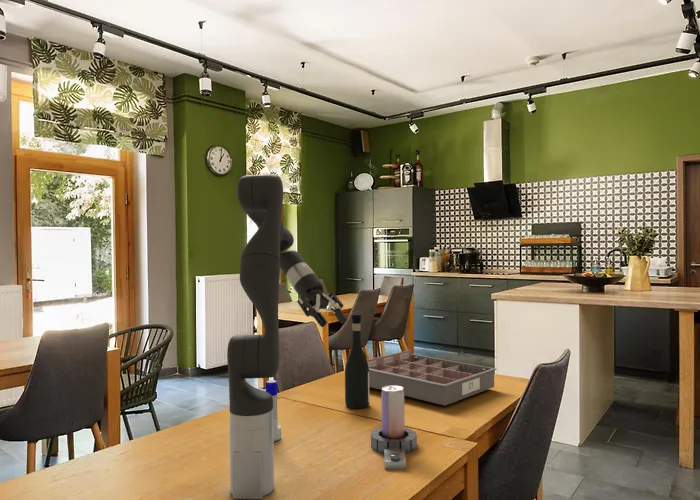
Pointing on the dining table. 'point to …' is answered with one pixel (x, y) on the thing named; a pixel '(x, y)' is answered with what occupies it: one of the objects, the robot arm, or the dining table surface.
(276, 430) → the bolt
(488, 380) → the organizer tray
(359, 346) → the wine bottle
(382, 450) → the pipe clamp bracket
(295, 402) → the dining table surface
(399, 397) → the beverage can
